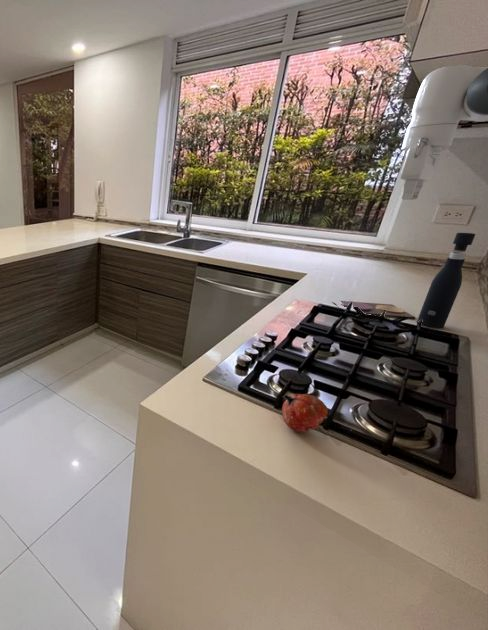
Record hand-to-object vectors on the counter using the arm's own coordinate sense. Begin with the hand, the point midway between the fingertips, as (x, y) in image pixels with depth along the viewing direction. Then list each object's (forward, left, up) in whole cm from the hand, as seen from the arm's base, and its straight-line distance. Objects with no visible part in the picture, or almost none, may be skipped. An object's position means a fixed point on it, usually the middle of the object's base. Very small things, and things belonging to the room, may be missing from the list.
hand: (409, 199), depth 88 cm
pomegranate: (+31, +51, -41) cm, 72 cm away
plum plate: (-11, -32, -40) cm, 53 cm away
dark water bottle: (-26, -20, -41) cm, 52 cm away
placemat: (-15, -32, -40) cm, 54 cm away
